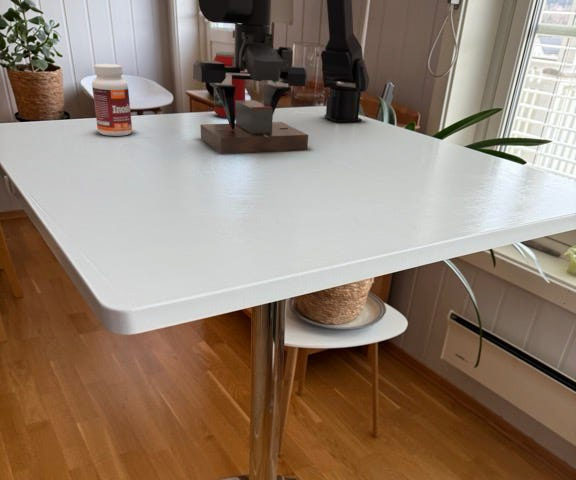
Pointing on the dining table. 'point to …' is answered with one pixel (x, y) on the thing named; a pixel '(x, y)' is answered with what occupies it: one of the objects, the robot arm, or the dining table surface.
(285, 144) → the brown wooden base
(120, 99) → the pill bottle
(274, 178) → the dining table surface
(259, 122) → the rectangular block
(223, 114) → the beverage can
